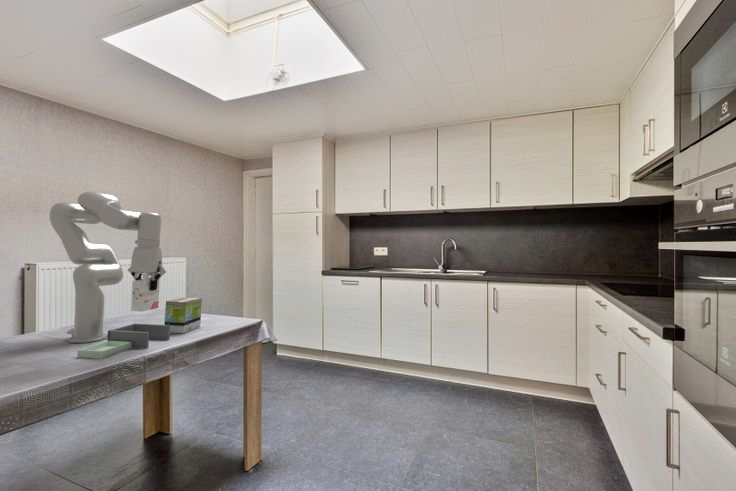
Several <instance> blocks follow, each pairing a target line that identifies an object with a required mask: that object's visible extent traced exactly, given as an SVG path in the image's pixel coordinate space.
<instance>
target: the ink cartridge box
mask: <svg viewBox="0 0 736 491" xmlns="http://www.w3.org/2000/svg"><path fill="white" fill-rule="evenodd" d="M159 273H160V272H158V274H159ZM142 279H143V280H135V279H134V280H132V284H131V285H132V286H131V306H130V307H131V308H130V309H131V311H132V312H141V313H142V312H146V311H151V310H155V309H158V308H159V303H160V302H159V300H160V283H161V282H160V280H161V279H159V280H158V282H157V290H153V291H150V281H151V280H152V278H151V274H150V273H143V275H142Z"/></svg>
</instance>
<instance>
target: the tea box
mask: <svg viewBox="0 0 736 491" xmlns="http://www.w3.org/2000/svg"><path fill="white" fill-rule="evenodd" d="M202 301H203V299H202V298H201V297H186V296H185V297H180V298H174V299H171V300H170V299H169V300H166V301H165V309H164V311H165V312H164V322H163V323H164V324H163V325H170V334H185V333H188V332H189V331H191V330H194V329H197V328H200V327H201V320H202V318H201V317H202V303H203V302H202Z"/></svg>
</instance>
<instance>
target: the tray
mask: <svg viewBox="0 0 736 491" xmlns="http://www.w3.org/2000/svg"><path fill="white" fill-rule="evenodd" d="M130 349H132V347H131V342H126V341H107V340H106V341H102V342H98V343H95V344H92V345H90V346H87V347H84V348H79V349H78V350H77V353H76V357H77V358H80V359H81V358H86V359H98V358H99V359H101V360H102V359H105V358H108V357H111V356H114V355H116V354H119V353H121V352H125V351H127V350H130Z"/></svg>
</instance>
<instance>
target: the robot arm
mask: <svg viewBox="0 0 736 491" xmlns="http://www.w3.org/2000/svg"><path fill="white" fill-rule="evenodd" d="M49 221H50V225H51V227H52V228H53V230H54V231H55V233H56V234H57V235H58V237H59V239H60V240H61V243H62V244H63V248H64V249H65V251H66V254H67V256H68V258H69V260H70V262H72V263H73V264H74V265H79V266H77V267H75V269H74V270H73V272H72V280H73V284H74V291H75V292H74V293H75V294H74V295H75V296H74V325H73V328H70V329H69V330H67V331H66V334H67V335H71V337H69V338H68V342H69V343H72V344H87V343H94V342H98V341H103V340H107V335H108V333H105V332H104V318H105V315H104V314H105V312H104V311H105V294H104V292H103V291H102V289H101V288H100V287H101V286H102V287H103V286H104V287H105V286H112V285H116V284H117V285H118V284H120V283H121V281H122V280H123V278H124V271H123V268H122V265H121V264H120V261H119V259H118V257H117V254H116V253H115V251H114V249H113V248H112V247H111V246H110V245H109V244H107V243H104V242H102V243H101V242H92V241H90V240H89V238H88V236H87V234H86V232H85V231H84V230H83V229H82V228H81V227H80V226H78V225H77V224H87V225H95V224H99V223H102V224H104V225H106V226H108V227H110V228H113V229H115V230H119V231H120V230H123V231H136V232H137V238H136V239H137V240H134V243H135V244H136V246H134V248H133V252H132V256H131V259H130V260H131V262H130V267H129V268H128V269H127V271H128V273H129V274H130V275H131V276H132V277H133V279H134V281H135V280H143V274H144V273H150V274H151V276H150V277H151V278H152V280H151V281H150V291H153V290H157V282H158V280H160V278H162V277H163V276H165V274H166V273H167V271H166V270H165V268H164V267H163V255H162V254H163V252H162V248H161V246H160V244H161V243H160V242H161V227H162V216H161V214H159V213H156V212H139V211H138V212H137V211H132V210H123V209H122V206H121V204H120V200H119V199H118V198H117V197H116V196H114V195H112V194H110V193H109V194H108V193H103V192H96V191H84V192H82V193H81V194H80V195H79V196H78V198H77V202H65V201H64V202H58V203H55V204H54V205H52V207H51V208H50V211H49ZM158 272H159V274H158Z"/></svg>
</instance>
